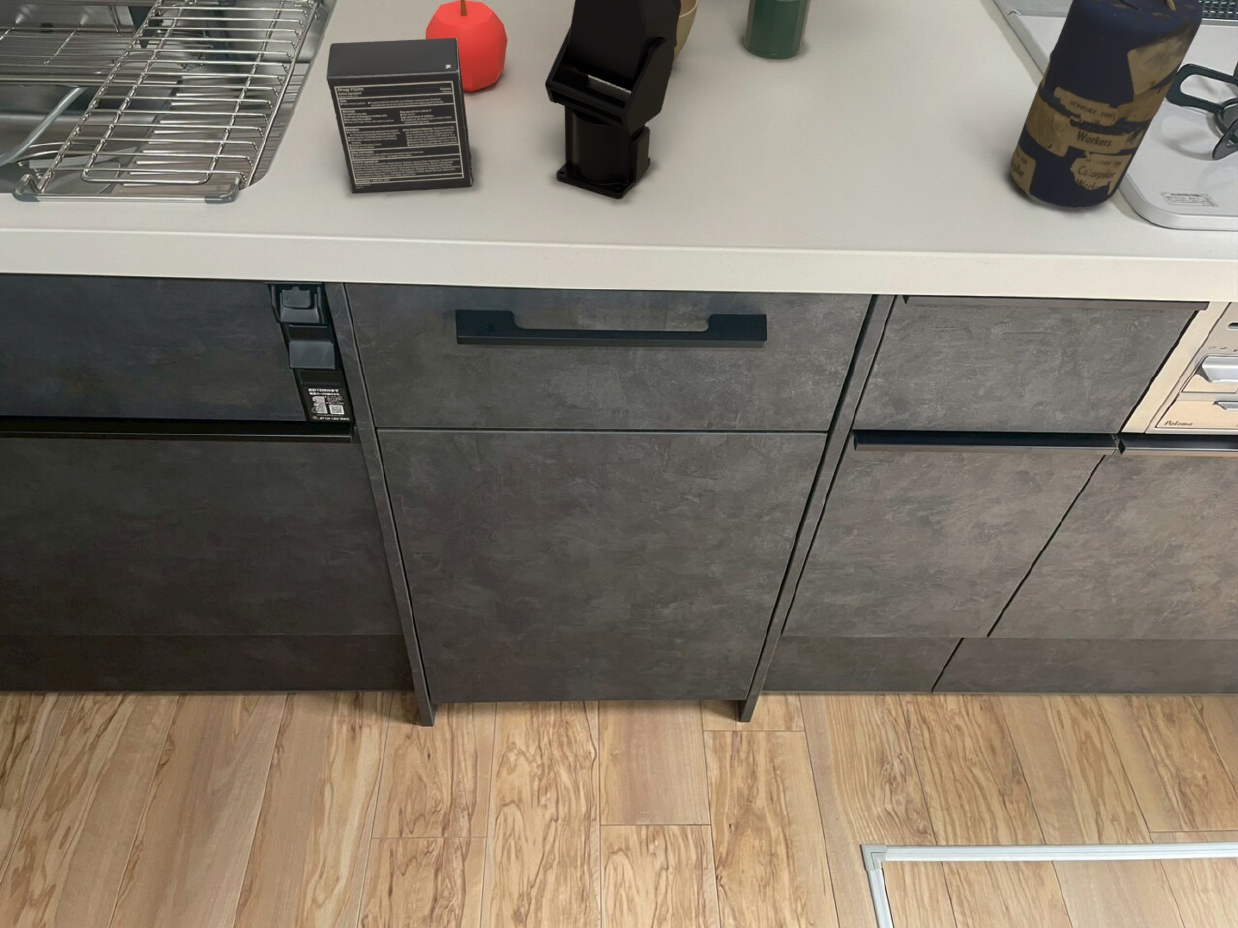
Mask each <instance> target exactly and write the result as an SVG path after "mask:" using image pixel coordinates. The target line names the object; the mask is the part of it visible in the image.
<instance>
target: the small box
mask: <svg viewBox="0 0 1238 928" xmlns="http://www.w3.org/2000/svg"><path fill="white" fill-rule="evenodd" d="M326 67H327V68H326V75H325V78H326V81H327V82H326V83H327V85H328V86H327V87H328V89H329V91H330V96H331V97H330V98H331V100H332V105H333V109H334V110H333V111H334V114H335V119H336V124H337V129H338V133H339V138H340V142H341V146H342V150H343V155H344V160H345V166H346V169H347V174H348V178H349V187H350V193H353V194H354V193H355V194H358V193H373V192H388V191H389V192H390V191H403V190H405V191H406V190H421V189H438V188H439V189H440V188H456V187H458V188H459V187H461V188H462V187H471V186H472V185H473V184H474V177H473V173H472V171H473V168H472V160H471V159H472V154H471V148H470V139H469V129H468V128H469V127H468V120H467V111H466V102H465V93H464V92H465V91H464V90H463V83H462V74H461V66H460V58H459V49H458V40H457V38H442V39H425V38H424V39H423V38H422V39H421V38H419V39H398V40H376V41H353V42H332V43H331V44H330V46H329V50H328V59H327V66H326Z"/></svg>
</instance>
